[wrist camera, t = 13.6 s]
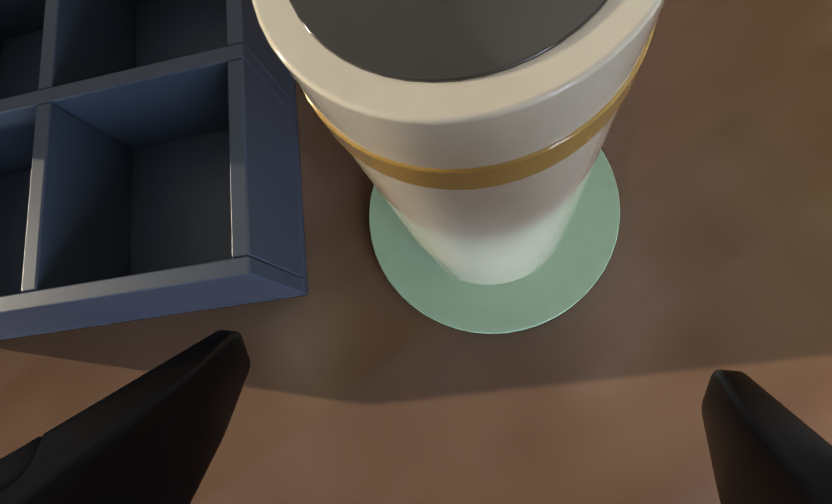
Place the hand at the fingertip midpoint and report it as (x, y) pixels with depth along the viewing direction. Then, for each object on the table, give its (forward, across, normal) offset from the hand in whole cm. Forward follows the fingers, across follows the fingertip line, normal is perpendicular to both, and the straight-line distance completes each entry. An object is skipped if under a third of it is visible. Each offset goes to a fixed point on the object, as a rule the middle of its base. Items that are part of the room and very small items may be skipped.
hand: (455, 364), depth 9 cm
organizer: (+11, +16, 0) cm, 19 cm away
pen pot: (+9, 0, +1) cm, 9 cm away
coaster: (+10, 0, +2) cm, 10 cm away
